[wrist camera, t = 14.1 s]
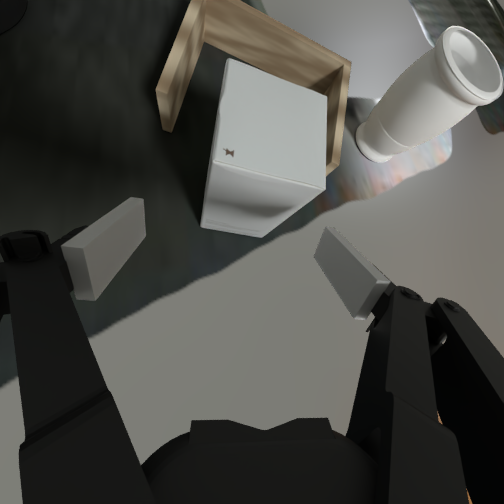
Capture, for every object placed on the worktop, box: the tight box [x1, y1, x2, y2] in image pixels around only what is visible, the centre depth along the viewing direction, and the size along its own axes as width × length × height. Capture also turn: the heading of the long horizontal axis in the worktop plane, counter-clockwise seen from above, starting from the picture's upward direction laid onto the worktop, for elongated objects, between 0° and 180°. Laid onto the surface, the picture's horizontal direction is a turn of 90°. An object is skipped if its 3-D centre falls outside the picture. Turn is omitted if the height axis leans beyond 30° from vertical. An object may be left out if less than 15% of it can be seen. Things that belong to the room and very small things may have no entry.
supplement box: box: [200, 59, 327, 237], centre depth 23 cm, size 9×9×15 cm
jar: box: [356, 26, 503, 163], centre depth 32 cm, size 11×10×15 cm
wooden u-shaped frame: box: [156, 0, 351, 176], centre depth 30 cm, size 19×24×6 cm
